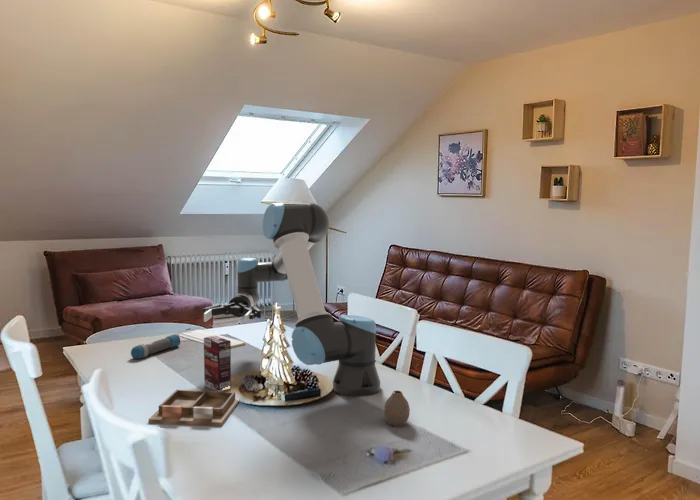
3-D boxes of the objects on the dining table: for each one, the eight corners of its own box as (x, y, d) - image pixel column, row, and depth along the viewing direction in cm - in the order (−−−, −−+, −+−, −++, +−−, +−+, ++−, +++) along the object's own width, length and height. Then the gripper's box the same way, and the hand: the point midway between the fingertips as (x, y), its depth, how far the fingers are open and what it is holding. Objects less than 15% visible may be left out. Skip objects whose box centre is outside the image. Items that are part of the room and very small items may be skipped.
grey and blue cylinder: (180, 347, 229) (180, 334, 229) (138, 361, 210) (138, 348, 209) (171, 345, 232) (171, 333, 231) (128, 359, 212) (128, 346, 212)
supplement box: (203, 386, 184) (202, 337, 183) (216, 382, 188) (216, 335, 186) (218, 393, 178) (217, 343, 177) (231, 389, 182) (231, 340, 180)
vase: (388, 429, 154) (389, 397, 153) (380, 419, 160) (381, 388, 159) (413, 426, 156) (414, 395, 155) (404, 417, 162) (404, 386, 161)
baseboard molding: (221, 352, 225) (245, 346, 234) (221, 344, 225) (245, 339, 234) (175, 337, 245) (199, 332, 254) (175, 331, 244) (199, 326, 254)
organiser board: (239, 401, 172) (239, 388, 171) (221, 426, 154) (221, 411, 154) (173, 398, 173) (173, 385, 173) (148, 422, 156) (148, 408, 155)
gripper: (274, 316, 211) (262, 331, 190) (207, 313, 212) (188, 328, 191) (275, 295, 210) (263, 308, 189) (207, 293, 211) (187, 305, 190)
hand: (225, 318), depth 190 cm, fingers open, 13 cm apart
